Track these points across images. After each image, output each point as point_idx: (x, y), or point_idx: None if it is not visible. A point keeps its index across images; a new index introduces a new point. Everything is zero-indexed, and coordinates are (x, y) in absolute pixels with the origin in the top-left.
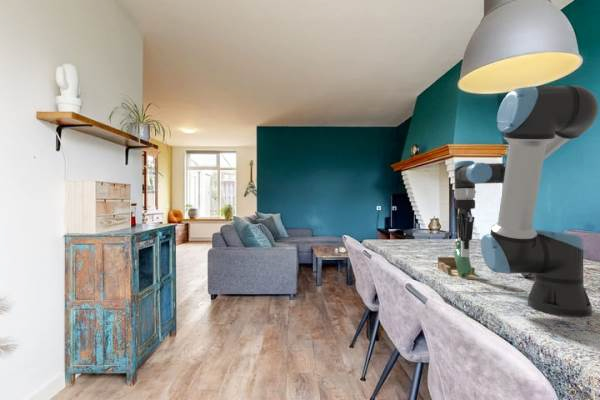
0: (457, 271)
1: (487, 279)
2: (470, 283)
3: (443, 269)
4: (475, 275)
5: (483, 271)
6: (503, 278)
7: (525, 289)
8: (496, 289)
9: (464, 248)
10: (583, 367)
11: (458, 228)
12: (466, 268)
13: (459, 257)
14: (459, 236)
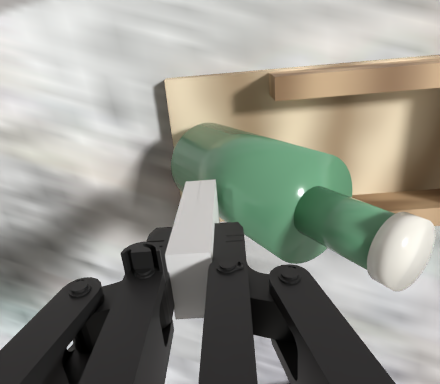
0: (363, 154)
1: None
2: (142, 155)
3: (362, 66)
4: None
5: (422, 290)
6: None
7: None
8: (56, 229)
9: (168, 229)
10: None
11: (351, 380)
12: (179, 173)
13: (228, 167)
14: (277, 280)
